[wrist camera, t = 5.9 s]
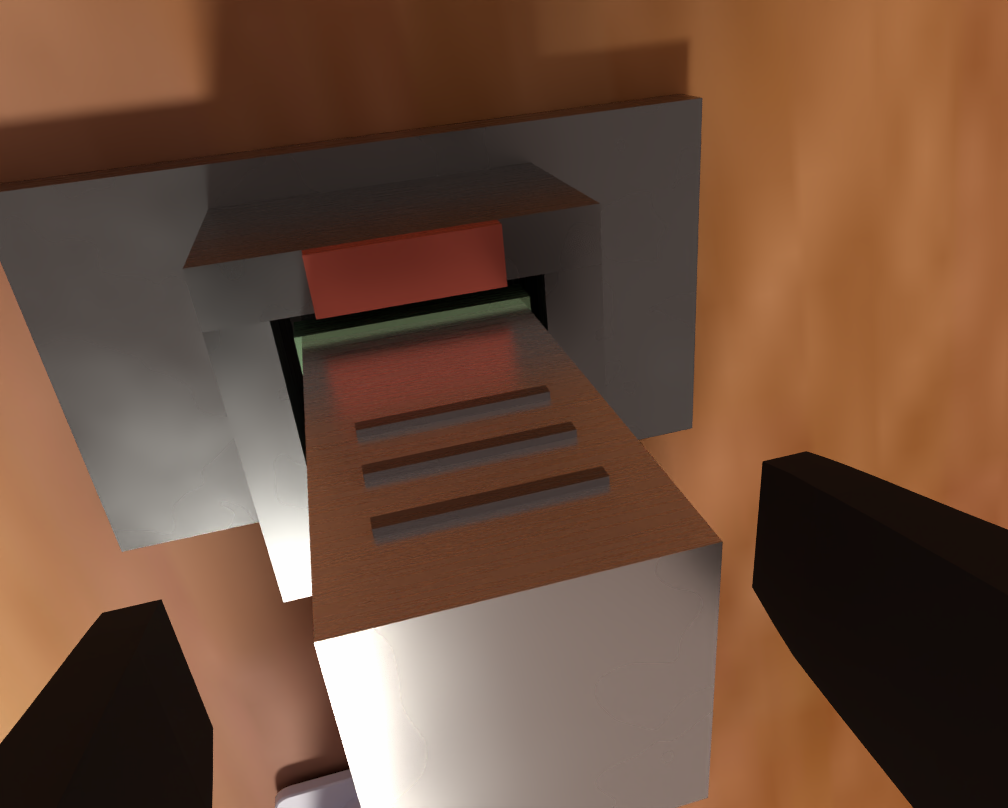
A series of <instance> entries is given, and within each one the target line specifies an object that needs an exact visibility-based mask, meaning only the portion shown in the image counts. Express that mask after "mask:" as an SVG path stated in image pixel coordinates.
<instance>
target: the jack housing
mask: <svg viewBox="0 0 1008 808" xmlns="http://www.w3.org/2000/svg"><path fill="white" fill-rule="evenodd" d="M701 124H702V98H700V97H694V96H689V95H684V94H677V95H669V96H661V97H654V98H646V99H639V100H631V101H624V102H616V103H608V104H601V105H593V106H586V107H578V108H571V109H563V110H555V111H548V112H540V113H533V114H525V115H518V116H510V117H503V118H495V119H487V120H480V121H472V122H465V123H457V124H450V125H442V126H434V127H427V128H419V129H412V130H404V131H397V132H389V133H381V134H374V135H366V136H359V137H351V138H344V139H336V140H328V141H321V142H313V143H306V144H298V145H291V146H283V147H276V148H268V149H260V150H253V151H245V152H238V153H230V154H223V155H215V156H207V157H200V158H192V159H185V160H177V161H170V162H162V163H154V164H147V165H139V166H132V167H124V168H117V169H109V170H101V171H94V172H86V173H79V174H71V175H64V176H56V177H49V178H41V179H33V180H26V181H18V182H11V183H3V184H0V261H1V264H2V266H3V269H4V271H5V273H6V276H7V278H8V281H9V283H10V285H11V288H12V290H13V293H14V295H15V297H16V300H17V302H18V304H19V307H20V309H21V312H22V314H23V316H24V319H25V321H26V324H27V326H28V328H29V331H30V333H31V336H32V338H33V340H34V343H35V345H36V348H37V350H38V352H39V355H40V357H41V359H42V362H43V364H44V367H45V369H46V371H47V374H48V376H49V379H50V381H51V383H52V386H53V388H54V391H55V393H56V395H57V398H58V400H59V402H60V405H61V407H62V410H63V412H64V414H65V417H66V419H67V422H68V424H69V426H70V429H71V431H72V434H73V436H74V438H75V441H76V443H77V445H78V448H79V450H80V453H81V455H82V457H83V460H84V462H85V465H86V467H87V469H88V472H89V474H90V477H91V479H92V481H93V484H94V486H95V489H96V491H97V493H98V496H99V498H100V500H101V503H102V505H103V508H104V510H105V512H106V515H107V517H108V520H109V522H110V524H111V527H112V529H113V532H114V534H115V536H116V539H117V541H118V543H119V546H120V548H121V551H122V552H123V551H128V550H132V549H137V548H142V547H146V546H151V545H155V544H160V543H165V542H169V541H174V540H178V539H183V538H188V537H192V536H197V535H202V534H206V533H211V532H215V531H220V530H225V529H229V528H234V527H238V526H243V525H248V524H252V523H257V522H259V523H260V526H261V529H262V533H263V536H264V539H265V543H266V546H267V549H268V553H269V556H270V559H271V563H272V566H273V569H274V572H275V576H276V579H277V582H278V586H279V589H280V592H281V596H282V599H283V602H287V601H292V600H296V599H300V598H304V597H309V596H312V584H311V559H310V534H309V509H308V485H307V460H306V435H305V410H304V386H303V374H302V370H301V366H300V361H299V357H298V353H297V349H296V345H295V341H294V322H298V321H301V315H307V314H313V313H315V316H316V320H317V319H323V318H329V317H334V316H340V315H346V314H352V313H358V312H363V311H369V310H375V309H381V308H386V307H392V306H398V305H404V304H410V303H415V302H421V301H427V300H433V299H438V298H444V297H450V296H456V295H462V294H467V293H473V292H479V291H485V290H490V289H496V288H502V287H507V283H508V284H509V285H512V284H518V283H519V284H520V286H521V287H522V288H523V289H524V290H525V291H526V293H527V294H528V295H529V296H530V306H531V312H532V313H533V314H534V315H535V316H536V318H537V319H538V320H539V321H540V323H541V324H542V325H543V326H544V327H545V329H546V330H547V331H548V332H549V333H550V335H551V336H552V337H553V338H554V339H555V341H556V342H557V343H558V344H559V345H560V347H561V348H562V349H563V350H564V351H565V353H566V354H567V355H568V356H569V357H570V359H571V360H572V361H573V362H574V363H575V365H576V366H577V367H578V368H579V369H580V371H581V372H582V373H583V374H584V375H585V377H586V378H587V379H588V380H589V381H590V383H591V384H592V385H593V386H594V388H595V389H596V390H597V391H598V392H599V394H600V395H601V396H602V397H603V398H604V400H605V401H606V402H607V403H608V404H609V406H610V407H611V408H612V409H613V410H614V412H615V413H616V414H617V415H618V416H619V418H620V419H621V420H622V421H623V422H624V424H625V425H626V426H627V427H628V428H629V430H630V431H631V432H632V433H633V434H634V436H635V437H636V438H637V439H638V440H640V439H644V438H649V437H654V436H658V435H663V434H667V433H672V432H677V431H681V430H686V429H690V428H692V416H693V384H694V351H695V319H696V286H697V254H698V222H699V189H700V157H701Z"/></svg>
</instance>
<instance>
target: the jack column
mask: <svg viewBox="0 0 1008 808" xmlns="http://www.w3.org/2000/svg"><path fill="white" fill-rule="evenodd" d="M294 341H295V345H296V349H297V353H298V357H299V361H300V366H301V370H302V374H303V386H304V410H305V435H306V460H307V485H308V509H309V534H310V559H311V584H312V608H313V633H314V645H315V648H316V652H317V655H318V659H319V662H320V666H321V669H322V673H323V676H324V680H325V683H326V687H327V690H328V694H329V697H330V701H331V704H332V708H333V711H334V715H335V718H336V722H337V725H338V729H339V732H340V736H341V739H342V743H343V746H344V749H345V753H346V756H347V760H348V763H349V767H350V770H351V774H352V777H353V781H354V784H355V788H356V791H357V795H358V798H359V802H360V805H361V808H676V807H679V806H683V805H686V804H689V803H692V802H695V801H699V800H702V799H705V798H708V786H709V769H710V752H711V734H712V717H713V700H714V682H715V665H716V648H717V630H718V613H719V595H720V578H721V561H722V543H723V542H722V540H721V539H720V538H719V537H718V536H717V534H716V533H715V532H714V531H713V530H712V528H711V527H710V526H709V525H708V523H707V522H706V521H705V520H704V519H703V517H702V516H701V515H700V514H699V513H698V511H697V510H696V509H695V508H694V507H693V505H692V504H691V503H690V502H689V501H688V499H687V498H686V497H685V496H684V495H683V493H682V492H681V491H680V490H679V489H678V487H677V486H676V485H675V484H674V483H673V481H672V480H671V479H670V478H669V477H668V475H667V474H666V473H665V472H664V471H663V469H662V468H661V467H660V466H659V465H658V463H657V462H656V461H655V460H654V459H653V457H652V456H651V455H650V454H649V452H648V451H647V450H646V449H645V448H644V446H643V445H642V444H641V443H640V442H639V440H638V439H637V438H636V437H635V436H634V434H633V433H632V432H631V431H630V430H629V428H628V427H627V426H626V425H625V424H624V422H623V421H622V420H621V419H620V418H619V416H618V415H617V414H616V413H615V412H614V410H613V409H612V408H611V407H610V406H609V404H608V403H607V402H606V401H605V400H604V398H603V397H602V396H601V395H600V394H599V392H598V391H597V390H596V389H595V388H594V386H593V385H592V384H591V383H590V381H589V380H588V379H587V378H586V377H585V375H584V374H583V373H582V372H581V371H580V369H579V368H578V367H577V366H576V365H575V363H574V362H573V361H572V360H571V359H570V357H569V356H568V355H567V354H566V353H565V351H564V350H563V349H562V348H561V347H560V345H559V344H558V343H557V342H556V341H555V339H554V338H553V337H552V336H551V335H550V333H549V332H548V331H547V330H546V329H545V327H544V326H543V325H542V324H541V323H540V321H539V320H538V319H537V318H536V316H535V315H534V314H533V313H532V312H531V306H530V296H529V295H528V294H527V293H526V291H525V290H524V289H523V288H522V287H521V286H520V284H519V283H518V284H512V285H509V284H508V283H507V287H502V288H496V289H490V290H485V291H479V292H473V293H467V294H462V295H456V296H450V297H444V298H438V299H433V300H427V301H421V302H415V303H410V304H404V305H398V306H392V307H386V308H381V309H375V310H369V311H363V312H358V313H352V314H346V315H340V316H334V317H329V318H323V319H317V320H316V316H315V313H313V314H307V315H301V321H298V322H294Z"/></svg>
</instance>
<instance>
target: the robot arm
mask: <svg viewBox="0 0 1008 808" xmlns="http://www.w3.org/2000/svg"><path fill="white" fill-rule="evenodd" d="M752 588H753V589H754V591H755V593H756V594H757V596H758V598H759V600H760V601H761V603H762V605H763V607H764V608H765V610H766V612H767V613H768V615H769V617H770V619H771V620H772V622H773V624H774V626H775V627H776V629H777V630H778V632H779V633H780V635H781V637H782V638H783V640H784V641H785V643H786V645H787V646H788V648H789V649H790V651H791V653H792V654H793V656H794V657H795V659H796V660H797V661H798V662H799V664H800V665H801V666H802V668H803V669H804V670H805V672H806V673H807V674H808V676H809V677H810V678H811V679H812V681H813V682H814V683H815V684H816V686H817V687H818V688H819V690H820V691H821V692H822V693H823V695H824V696H825V697H826V699H827V700H828V701H829V702H830V704H831V705H832V706H833V707H834V709H835V710H836V711H837V713H838V714H839V715H840V716H841V718H842V719H843V720H844V721H845V723H846V724H847V725H848V726H849V728H850V729H851V730H852V731H853V733H854V734H855V735H856V736H857V738H858V739H859V740H860V741H861V743H862V744H863V745H864V746H865V748H866V749H867V750H868V751H869V753H870V754H871V755H872V756H873V758H874V759H875V760H876V761H877V763H878V764H879V765H880V767H881V768H882V769H883V770H884V772H885V773H886V774H887V775H888V777H889V778H890V779H891V780H892V782H893V783H894V784H895V785H896V787H897V788H898V789H899V790H900V792H901V793H902V794H903V795H904V797H905V798H906V799H907V800H908V802H909V803H910V804H911V805H912V807H913V808H1008V530H1007V529H1005V528H1002V527H1000V526H997V525H995V524H992V523H989V522H987V521H984V520H982V519H979V518H977V517H974V516H972V515H969V514H967V513H964V512H962V511H959V510H957V509H954V508H952V507H949V506H947V505H944V504H942V503H939V502H937V501H934V500H932V499H929V498H927V497H925V496H922V495H920V494H917V493H915V492H912V491H910V490H907V489H905V488H902V487H900V486H897V485H895V484H893V483H890V482H888V481H885V480H883V479H880V478H878V477H875V476H873V475H870V474H868V473H865V472H863V471H860V470H857V469H855V468H852V467H850V466H847V465H844V464H842V463H839V462H836V461H834V460H831V459H828V458H825V457H822V456H819V455H816V454H813V453H810V452H807V451H806V452H802V453H797V454H793V455H789V456H784V457H780V458H776V459H771V460H767V461H763V464H762V476H761V488H760V500H759V512H758V524H757V536H756V548H755V560H754V572H753V584H752ZM212 790H213V727H212V724H211V722H210V719H209V717H208V714H207V712H206V709H205V707H204V704H203V702H202V699H201V697H200V694H199V692H198V689H197V687H196V684H195V682H194V679H193V677H192V674H191V672H190V669H189V667H188V664H187V662H186V659H185V657H184V654H183V652H182V649H181V647H180V644H179V642H178V640H177V637H176V635H175V632H174V630H173V627H172V625H171V622H170V620H169V617H168V615H167V612H166V610H165V607H164V605H163V602H162V600H157V601H152V602H148V603H143V604H139V605H135V606H130V607H126V608H122V609H117V610H113V611H109V612H104V613H102V614H101V615H100V616H99V618H98V619H97V620H96V621H95V622H94V624H93V625H92V626H91V627H90V629H89V630H88V631H87V632H86V634H85V635H84V636H83V638H82V639H81V640H80V642H79V643H78V644H77V645H76V647H75V648H74V649H73V651H72V652H71V653H70V655H69V656H68V657H67V658H66V660H65V661H64V662H63V664H62V665H61V666H60V668H59V669H58V670H57V672H56V673H55V674H54V675H53V677H52V678H51V679H50V681H49V682H48V683H47V685H46V686H45V687H44V689H43V690H42V691H41V692H40V694H39V695H38V696H37V698H36V699H35V700H34V702H33V703H32V704H31V705H30V707H29V708H28V709H27V711H26V712H25V713H24V714H23V716H22V717H21V718H20V720H19V721H18V722H17V723H16V725H15V726H14V727H13V728H12V730H11V731H10V732H9V734H8V735H7V736H6V737H5V739H4V740H3V741H2V742H1V744H0V808H212ZM275 808H361V805H360V802H359V798H358V795H357V791H356V788H355V784H354V781H353V777H352V774H351V770H350V769H348V770H345V771H341V772H338V773H334V774H330V775H327V776H323V777H320V778H316V779H312V780H309V781H305V782H302V783H298V784H294V785H291V786H288V787H286V788H283V789H282V790H281V791H279V792H278V793H277V795H276V797H275Z"/></svg>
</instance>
